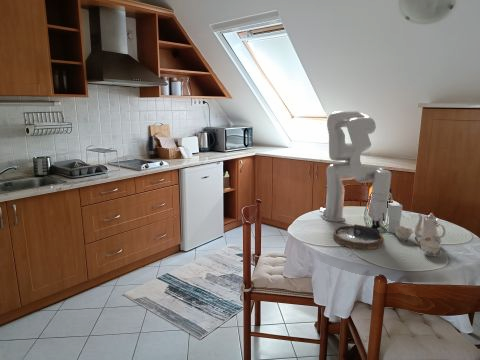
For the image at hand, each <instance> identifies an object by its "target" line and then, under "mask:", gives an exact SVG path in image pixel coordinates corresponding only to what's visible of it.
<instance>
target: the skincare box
mask: <svg viewBox="0 0 480 360" xmlns="http://www.w3.org/2000/svg"><path fill="white" fill-rule="evenodd" d="M392 201H393V203H388V216H389V224H388V230H387V231H386V232H387V233H396V232H395V229H394V227H397V228H398V227H400V223H401V218H402V213H403V205H402V204H401V203H399V202H397V201H395V200H392Z"/></svg>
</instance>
